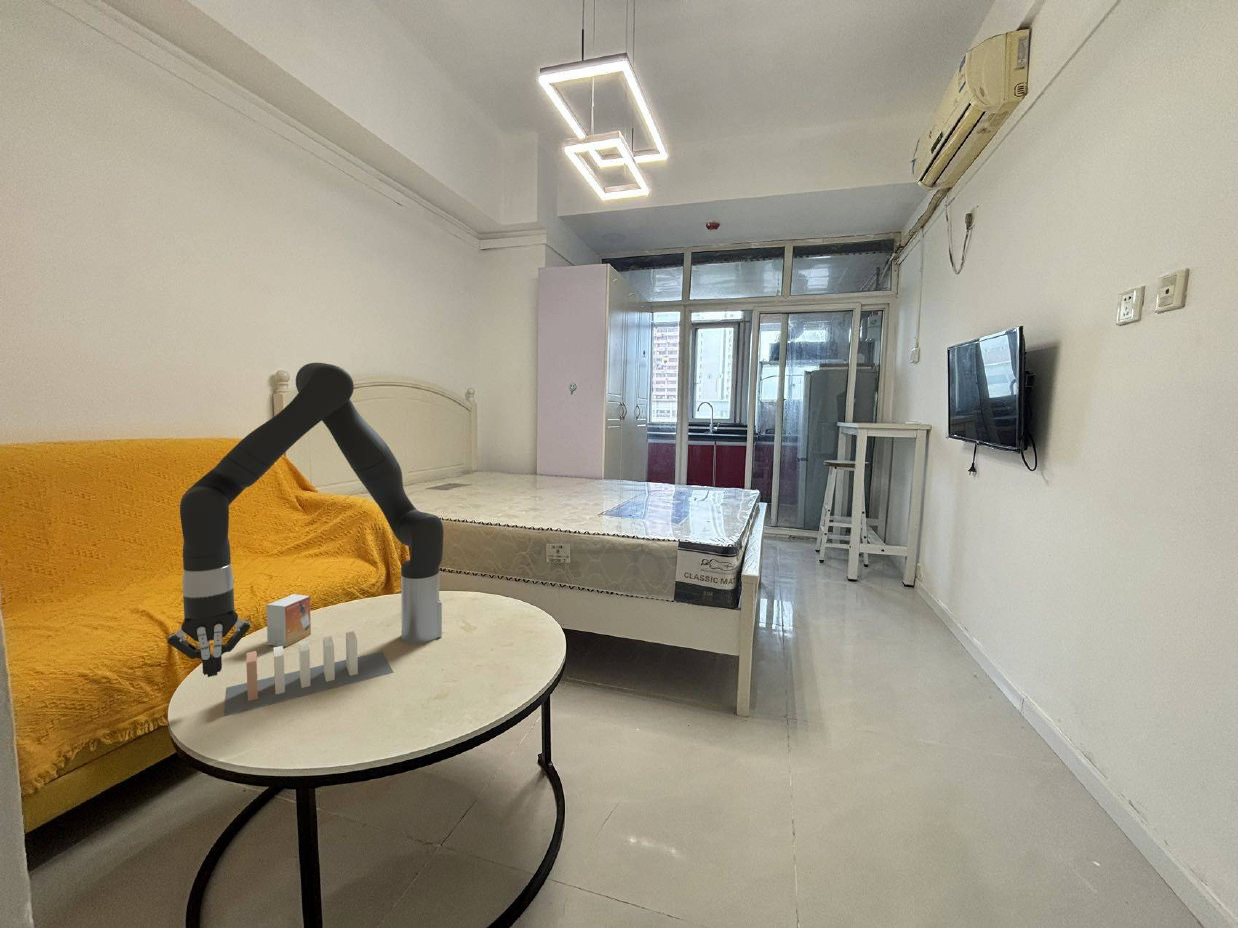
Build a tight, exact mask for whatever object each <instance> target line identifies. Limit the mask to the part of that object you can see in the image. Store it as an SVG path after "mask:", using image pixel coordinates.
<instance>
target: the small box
mask: <svg viewBox="0 0 1238 928" xmlns="http://www.w3.org/2000/svg"><path fill="white" fill-rule="evenodd" d="M311 625H312V624H311V596H310V595H304V594H303V595H302V594H294V593H293V594H290V595H288V596H286V597H283V598H281V599H278V600H275V601H273V602H271V603H267V604H266V632H267V633H266V635H267V636H266V637H267V645H269V646H273V647H279V646H283V648H287V647H289V646H290V645H292V644H294V643H296V642H298V641H301V640H303V639H305V638H306V637H309V636H311V635H312V628H311V627H312V626H311Z"/></svg>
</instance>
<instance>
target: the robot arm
mask: <svg viewBox="0 0 1238 928" xmlns="http://www.w3.org/2000/svg"><path fill="white" fill-rule="evenodd" d="M299 368H300V369H298V371H297V372H296V376H295V388H296V390H297V392H298V393H297V394H296V395H295V397H294V398H293V399H292V400H291V401H290V402H289V403H288V404H287V405H286V406H285V407H284V408H283V409H281V410H280V411H279V412H278V413H276V414H275V415H274V416H273V417H272V418H270V419H268V420H267V421H266V422H264V423H263V424H261V425H260V426H258V427H256V428H255V429H253V430H252V431H251V432H250V433H248V434H247V435H246V436H245V437H244V438H242V439H241V440H240V441H238V443H237V444H236V445H235V446H233V448H232V449H230V451H228V452H227V453H226V454H225V455H224V456H223V458H222V459H220V461H219V462H218V463H217V464H216V466H215V467H213V468H212V469H210V471H208V472H207V473H205V475H203V477H201V478H200V479H198V480H197V481H196V482H195V483H194V484H193V485H192V486H191V487H190V488H189V489H188V490H186V491H185V493H183V495H182V496H181V500H180V503H179V515H180V525H181V533H182V538H183V544H182V545H183V546H182V565H183V566H182V567H183V575H182V599H183V600H182V601H183V617H184V620H183V621H182V623H181V626H180V629H178V630H177V631H176V632H172V633H170V634H169V636H168V639H167V643H168V644H169V645H170V646H172V647H173V648H175V649H176V650H177V651H179V652H180V653H181V654H183V655H184V656H186V657H187V658H189V659H190V660H195V659H200V660H201V663H202V674H203V675H204V676H207V678H211V677H215V676H218V673H219V672H221V671H222V667H223V661H222V659H223V658H222V656H223V655H224V654H226V653H230V652H232V650H233V649H234V648H235V647H237V646H236V645H238V643H239V642H240V641H241V640H242V639H243V637H244V636H245V635H246V633H247V632H248V631H249V630H250V628H251V621H250V620H248V619H247V620H244V619H242V618H240V617H239V615H238V613H237V612H236V609H235V596H234V595H235V591H234V589H235V588H234V583H235V579H234V573H233V569H232V563H231V562H232V561H231V559H232V558H231V545H230V539H229V524H230V523H229V522H230V505H231V504H232V503H233V502H234V501H235V500H236V499H237V497H239V496H240V495H241V494H242V492H243V491H244V490H246V489H247V488H250V487H251V486H253V485H255V483H257V481H259V480H260V479H261V478H262V477H263V475H265V474H266V473H267V472H268V470H270V468H272V467H273V465H275V464H276V462H277V461H279V460H280V458H281V457H282V456H284V454H285V453H286V452H287V451H288V450H290V448H292V447H293V445H295V444H296V443H297V442H298V441H299V440H300V439H302V437H303V436H304V435H306V434H307V433H308V432H309V431H310V430H312V429H313V428H314V427H315V426H317V425H318V424H319V423H320V422H322V423H323V424H324V425H325V427H326V428H327V429H328V431H329V432H330V434H331V436H332V437H333V440H334V441H335V443H336V444H337V447H338V448H339V450H340V451H341V453H342V454H343V456H344V457H345V459H346V461H347V463H348V464H349V466H350V468H351V469H352V470H353V472H354V473H355V475H356V476H357V478H358V480H359V481H360V482H361V484H362V485H363V486H364V487H365V489H366V490H367V492H368V493H369V495H370V497H371V498H372V499H373V500H374V502H375V503H376V505H377V506H378V507H379V509H380V511H381V512H382V515H384V518H385V520H386V522H387V523H388V526H389V528H390V529H391V531H392V534H393V535H394V537H395V539H397V540H398V542H400V544H402V545H404V546H407V547H409V548H410V547H411V549H410V551H411V552H410V559H408V560H405V561H404V562H403V563H402V564H401V566H400V579H401V580H400V581H401V582H400V583H401V584H400V589H401V590H400V591H401V592H400V593H401V594H400V595H401V596H400V597H401V605H400V606H401V611H400V612H401V641H403V642H404V643H407V644H414V645H417V644H424V643H429V642H432V641H433V640H436V639H438V638H441V636H442V637H443V626H442V625H443V623H442V621H443V611H442V608H443V603H442V602H443V601H442V600H441V599H440V566H441V563H442V561H443V552H444V551H443V550H444V536H445V535H444V534H445V533H444V525H443V522H442V520H441V519H440V517H439V516H438V515H435V514H433V513H429V512H423V511H419V510H418V509H417V508H416V507H415V506H414V505H413V503H412V502H411V500H410V499H409V497H408V495H407V494H406V491H405V489H404V482H403V472H402V468H401V466H400V463H399V462H398V460H397V458H396V456H395V455H394V453H393V452H392V450H391V449H390V447H389V446H388V444H387V443H386V441H385V440H384V439H383V438H382V437H381V435H379V433H378V432H376V430H375V429H374V428H373V427H372V426H371V425H370V424H369V423H368V422H367V421H366V419H364V418H363V417H362V416H361V414H360V413H359V412H358V410H357V408H356V407H355V405H354V404H353V401H352V400H351V397H352V396H353V394H354V389H355V388H354V387H355V386H354V381H353V378H352V376H351V374H349V371H347V370H346V369H344V368H342V367H340V366H337V365H334V364H331V363H325V362H310V363H307V364H305V365H303V366H302V367H299ZM234 626H235V627H234ZM233 628H234V633H233V634H232V635H231V637H230V638H228V640H227V641H226V642H225V643H224V644H223V638H225V637H226V636H227V635H228V633H229V632H231V630H232V629H233ZM187 636H189V637H190V639H192V640H193V641H195V642H196V643H198V644H199V648H198V647H196V646H195V645H193V644H192V643H191V642H189V641H188V640H187ZM210 641H213V650H211V644H210V643H211V642H210ZM212 651H213V652H212ZM211 652H212V653H211Z"/></svg>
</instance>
